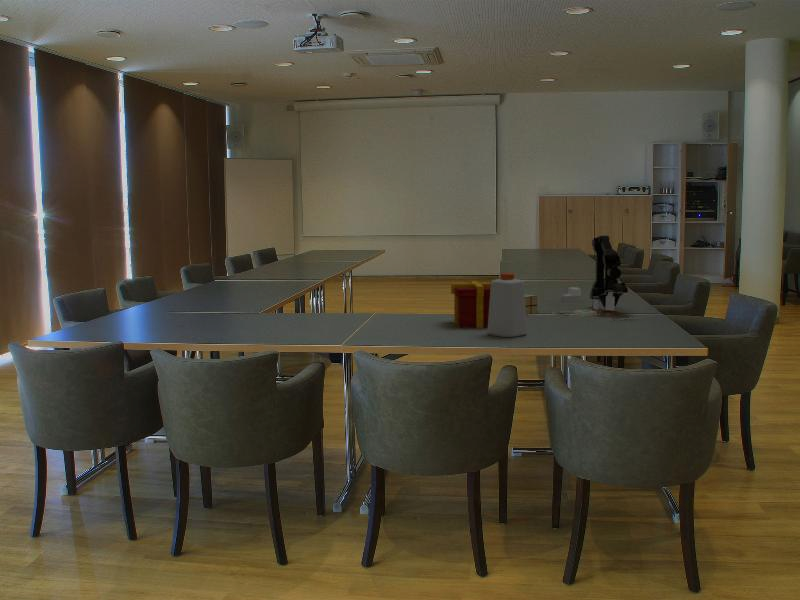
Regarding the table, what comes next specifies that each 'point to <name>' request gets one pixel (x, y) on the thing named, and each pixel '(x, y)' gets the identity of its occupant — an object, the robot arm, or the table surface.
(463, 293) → the gift box
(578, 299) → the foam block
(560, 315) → the tray
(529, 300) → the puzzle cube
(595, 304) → the block
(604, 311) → the pallet board
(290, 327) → the table surface
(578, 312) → the button console
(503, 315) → the plastic bottle
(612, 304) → the block
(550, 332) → the table surface
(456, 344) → the table surface
